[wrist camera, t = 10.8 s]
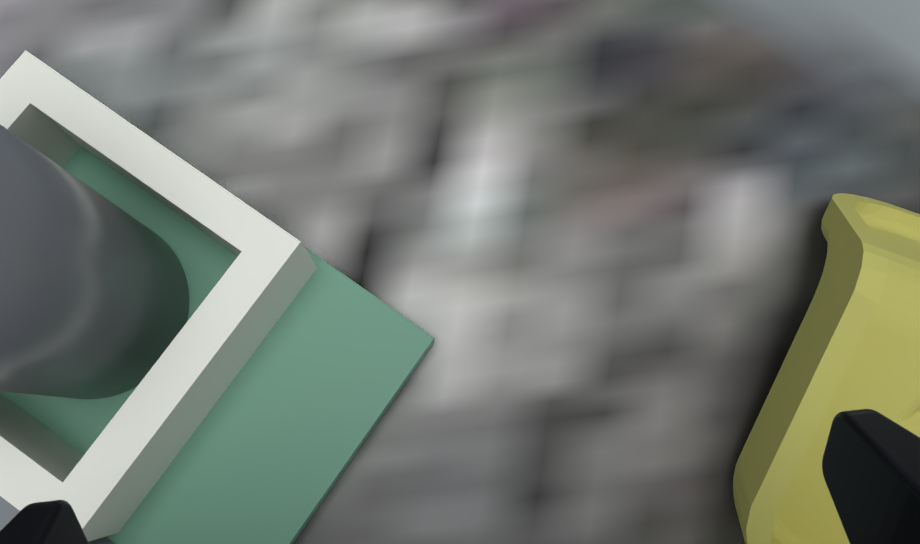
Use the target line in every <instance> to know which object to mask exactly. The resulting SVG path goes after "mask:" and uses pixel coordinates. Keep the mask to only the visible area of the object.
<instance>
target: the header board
mask: <svg viewBox="0 0 920 544" xmlns="http://www.w3.org/2000/svg"><path fill="white" fill-rule="evenodd" d="M0 124H1V125H2V126H3V127H5V128H6V129H8V130H9V131H11V132H12V133H13V134H15V135H16V136H18V137H19V138H21V139H22V140H23V141H25V142H26V143H28V144H29V145H31V146H32V147H33V148H35V149H36V150H38V151H39V152H41V153H42V154H43V155H45V156H46V157H48V158H49V159H51V160H52V161H53V162H55V163H56V164H58V165H59V166H61V167H62V168H63V169H65V170H66V171H68V172H69V173H71V174H72V175H73V176H75V177H76V178H78V179H79V180H81V181H82V182H83V183H85V184H86V185H88V186H89V187H91V188H92V189H93V190H95V191H96V192H98V193H99V194H101V195H102V196H103V197H105V198H106V199H108V200H109V201H111V202H112V203H113V204H115V205H116V206H118V207H119V208H121V209H122V210H123V211H125V212H126V213H128V214H129V215H131V216H132V217H133V218H135V219H136V220H138V221H139V222H141V223H142V224H143V225H145V226H146V227H148V228H149V229H151V230H152V231H153V232H155V233H156V234H157V235H159V236H160V237H161V238H162V239H163V240H164V241H165V242H166V243H167V244H168V245H169V246H170V247H171V249H172V250H173V251H174V253H175V254H176V256H177V258H178V259H179V261H180V263H181V265H182V268H183V270H184V273H185V276H186V280H187V284H188V291H189V311H188V317H187V322H186V324H185V325H184V327H183V328H182V329H181V331H180V332H179V333H178V334H177V336H176V337H175V338H174V340H173V341H172V342H171V343H170V345H169V346H168V347H167V349H166V350H165V351H164V352H163V354H162V355H161V356H160V358H159V359H158V360H157V362H156V363H155V364H154V365H153V367H152V368H151V369H150V371H149V372H148V373H147V374H146V376H145V377H144V378H143V380H142V381H141V382H140V383H139V385H138V386H137V387H135V388H133V389H131V390H128V391H126V392H124V393H122V394H118V395H115V396H111V397H107V398H101V399H75V398H65V397H55V396H45V395H35V394H25V393H15V392H5V391H0V530H1V529H2V528H3V527H4V526H5V525H6V524H7V523H8V522H9V521H10V520H11V519H12V518H13V517H14V516H15V515H17V514H18V513H19V512H20V511H21V510H22V509H23V508H24V507H26V506H27V505H29V504H32V503H37V502H45V501H54V500H65V501H67V502H68V503H69V504H70V505H71V507H72V508H73V510H74V512H75V515H76V517H77V519H78V521H79V523H80V525H81V527H82V530H83V532H84V534H85V536H86V538H87V540H88V543H89V544H293V543H294V542H295V540H296V539H297V537H298V536H299V534H300V533H301V532H302V530H303V529H304V527H305V526H306V525H307V523H308V522H309V520H310V519H311V517H312V516H313V515H314V513H315V512H316V510H317V509H318V507H319V506H320V505H321V503H322V502H323V500H324V499H325V497H326V496H327V495H328V493H329V492H330V490H331V489H332V488H333V486H334V485H335V483H336V482H337V480H338V479H339V478H340V476H341V475H342V473H343V472H344V470H345V469H346V468H347V466H348V465H349V463H350V462H351V460H352V459H353V458H354V456H355V455H356V453H357V452H358V451H359V449H360V448H361V446H362V445H363V443H364V442H365V441H366V439H367V438H368V436H369V435H370V433H371V432H372V431H373V429H374V428H375V426H376V425H377V423H378V422H379V421H380V419H381V418H382V416H383V415H384V414H385V412H386V411H387V409H388V408H389V406H390V405H391V404H392V402H393V401H394V399H395V398H396V396H397V395H398V394H399V392H400V391H401V389H402V388H403V386H404V385H405V384H406V382H407V381H408V379H409V378H410V377H411V375H412V374H413V372H414V371H415V369H416V368H417V367H418V365H419V364H420V362H421V361H422V359H423V358H424V357H425V355H426V354H427V352H428V351H429V349H430V348H431V347H432V345H433V344H434V337H433V336H431V335H430V334H429V333H427V332H426V331H424V330H423V329H421V328H420V327H418V326H417V325H416V324H414V323H413V322H411V321H410V320H408V319H407V318H406V317H404V316H403V315H401V314H400V313H398V312H397V311H395V310H394V309H393V308H391V307H390V306H388V305H387V304H385V303H384V302H383V301H381V300H380V299H378V298H377V297H375V296H374V295H372V294H371V293H370V292H368V291H367V290H365V289H364V288H362V287H361V286H360V285H358V284H357V283H355V282H354V281H352V280H351V279H349V278H348V277H347V276H345V275H344V274H342V273H341V272H339V271H338V270H337V269H335V268H334V267H332V266H331V265H329V264H328V263H326V262H325V261H324V260H322V259H321V258H319V257H318V256H316V255H315V254H314V253H312V252H311V251H309V250H308V249H306V248H305V247H304V246H303V244H302V243H301V241H299V240H298V239H296V238H295V237H293V236H292V235H290V234H289V233H288V232H286V231H285V230H283V229H282V228H280V227H279V226H278V225H276V224H275V223H273V222H272V221H270V220H269V219H267V218H266V217H265V216H263V215H262V214H260V213H259V212H257V211H256V210H255V209H253V208H252V207H250V206H249V205H247V204H246V203H244V202H243V201H242V200H240V199H239V198H237V197H236V196H234V195H233V194H232V193H230V192H229V191H227V190H226V189H224V188H223V187H221V186H220V185H219V184H217V183H216V182H214V181H213V180H211V179H210V178H208V177H207V176H206V175H204V174H203V173H201V172H200V171H198V170H197V169H196V168H194V167H193V166H191V165H190V164H188V163H187V162H185V161H184V160H183V159H181V158H180V157H178V156H177V155H175V154H174V153H173V152H171V151H170V150H168V149H167V148H165V147H164V146H162V145H161V144H160V143H158V142H157V141H155V140H154V139H152V138H151V137H150V136H148V135H147V134H145V133H144V132H142V131H141V130H139V129H138V128H137V127H135V126H134V125H132V124H131V123H129V122H128V121H127V120H125V119H124V118H122V117H121V116H119V115H118V114H116V113H115V112H114V111H112V110H111V109H109V108H108V107H106V106H105V105H104V104H102V103H101V102H99V101H98V100H96V99H95V98H93V97H92V96H91V95H89V94H88V93H86V92H85V91H83V90H82V89H80V88H79V87H78V86H76V85H75V84H73V83H72V82H70V81H69V80H68V79H66V78H65V77H63V76H62V75H60V74H59V73H57V72H56V71H55V70H53V69H52V68H50V67H49V66H47V65H46V64H45V63H43V62H42V61H40V60H39V59H37V58H36V57H34V56H33V55H32V54H30V53H29V52H27V51H26V50H25V52H24V53H23V54H22V55H21V56H20V57H19V58H18V60H17V61H16V62H15V63H14V64H13V65H12V66H11V67H10V69H9V70H8V71H7V72H6V73H5V74H4V75H3V76H2V78H1V79H0Z"/></svg>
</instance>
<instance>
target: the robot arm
mask: <svg viewBox="0 0 920 544" xmlns="http://www.w3.org/2000/svg"><path fill="white" fill-rule="evenodd" d="M822 471H823V476H824V479H825V482H826V485H827V487H828V490H829V492H830V495H831V497H832V500H833V502H834V505H835V507H836V510H837V512H838V515H839V518H840V520H841V523H842V525H843V528H844V530H845V533H846V535H847V538H848V540H849V543H850V544H920V437H918V436H917V435H915V434H914V433H912V432H910V431H909V430H907V429H905V428H904V427H902V426H900V425H899V424H897V423H896V422H894V421H892V420H891V419H889V418H887V417H886V416H884V415H882V414H881V413H879V412H877V411H875V410H872V409H860V410H851V411H842V412H839V413H838V414H837V415H836V416H835V417H834V419H833V421H832V425H831V428H830V432H829V436H828V440H827V443H826V447H825V451H824V454H823V459H822ZM0 544H89V543H88V540H87V538H86V536H85V534H84V532H83V530H82V527H81V525H80V523H79V521H78V519H77V517H76V515H75V512H74V510H73V508H72V507H71V505H70V504H69V503H68V502H67V501H65V500H54V501H45V502H37V503H32V504H29V505H27V506H26V507H24V508H23V509H22V510H21V511H20V512H19V513H18V514H17V515H15V516H14V517H13V518H12V519H11V520H10V521H9V522H8V523H7V524H6V525H5V526H4V527H3V528H2V529H1V530H0Z"/></svg>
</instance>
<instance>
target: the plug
mask: <svg viewBox="0 0 920 544" xmlns="http://www.w3.org/2000/svg"><path fill="white" fill-rule="evenodd" d="M188 311H189V291H188V284H187V280H186V276H185V273H184V270H183V268H182V265H181V263H180V261H179V259H178V258H177V256H176V254H175V253H174V251H173V250H172V249H171V247H170V246H169V245H168V244H167V243H166V242H165V241H164V240H163V239H162V238H161V237H160V236H159V235H157V234H156V233H155V232H153V231H152V230H151V229H149V228H148V227H146V226H145V225H143V224H142V223H141V222H139V221H138V220H136V219H135V218H133V217H132V216H131V215H129V214H128V213H126V212H125V211H123V210H122V209H121V208H119V207H118V206H116V205H115V204H113V203H112V202H111V201H109V200H108V199H106V198H105V197H103V196H102V195H101V194H99V193H98V192H96V191H95V190H93V189H92V188H91V187H89V186H88V185H86V184H85V183H83V182H82V181H81V180H79V179H78V178H76V177H75V176H73V175H72V174H71V173H69V172H68V171H66V170H65V169H63V168H62V167H61V166H59V165H58V164H56V163H55V162H53V161H52V160H51V159H49V158H48V157H46V156H45V155H43V154H42V153H41V152H39V151H38V150H36V149H35V148H33V147H32V146H31V145H29V144H28V143H26V142H25V141H23V140H22V139H21V138H19V137H18V136H16V135H15V134H13V133H12V132H11V131H9V130H8V129H6V128H5V127H3V126H2V125H1V124H0V391H5V392H15V393H25V394H35V395H45V396H55V397H65V398H75V399H101V398H107V397H111V396H115V395H118V394H122V393H124V392H126V391H128V390H131V389H133V388H135V387H137V386H138V385H139V383H140V382H141V381H142V380H143V378H144V377H145V376H146V374H147V373H148V372H149V371H150V369H151V368H152V367H153V365H154V364H155V363H156V362H157V360H158V359H159V358H160V356H161V355H162V354H163V352H164V351H165V350H166V349H167V347H168V346H169V345H170V343H171V342H172V341H173V340H174V338H175V337H176V336H177V334H178V333H179V332H180V331H181V329H182V328H183V327H184V325H185V324H186V322H187V317H188Z"/></svg>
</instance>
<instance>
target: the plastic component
mask: <svg viewBox="0 0 920 544" xmlns="http://www.w3.org/2000/svg"><path fill="white" fill-rule="evenodd" d="M821 230H822V232H823V235H824V237H825V239H826V241H827V243H828V248H827V257H826V261H825V265H824V270H823V273H822V276H821V279H820V282H819V285H818V287H817V290H816V292H815V295H814V297H813V299H812V302H811V304H810V306H809V308H808V310H807V312H806V315H805V317H804V319H803V321H802V323H801V325H800V327H799V330H798V332H797V334H796V336H795V338H794V340H793V342H792V345H791V347H790V349H789V351H788V353H787V355H786V357H785V360H784V362H783V364H782V366H781V368H780V370H779V372H778V375H777V377H776V379H775V381H774V383H773V385H772V387H771V390H770V392H769V394H768V396H767V398H766V400H765V402H764V405H763V407H762V409H761V411H760V413H759V415H758V417H757V420H756V422H755V424H754V426H753V428H752V430H751V432H750V435H749V437H748V439H747V441H746V443H745V445H744V447H743V450H742V452H741V454H740V456H739V458H738V461H737V464H736V466H735V472H734V477H733V495H734V502H735V507H736V511H737V514H738V518H739V522H740V526H741V529H742V533H743V537H744V540H745V544H850V543H849V540H848V538H847V535H846V533H845V530H844V528H843V525H842V523H841V520H840V518H839V515H838V512H837V510H836V507H835V505H834V502H833V500H832V497H831V495H830V492H829V490H828V487H827V485H826V482H825V479H824V476H823V471H822V459H823V454H824V451H825V447H826V443H827V440H828V436H829V432H830V428H831V425H832V421H833V419H834V417H835V416H836V415H837V414H838V413H839V412H842V411H851V410H860V409H872V410H875V411H877V412H879V413H881V414H882V415H884V416H886V417H887V418H889V419H891V420H892V421H894V422H896V423H897V424H899V425H900V426H902V427H904V428H905V429H907V430H909V431H910V432H912V433H914V434H915V435H917V436H918V437H920V214H917V213H914V212H912V211H909V210H906V209H903V208H900V207H897V206H894V205H892V204H889V203H885V202H882V201H878V200H875V199H871V198H867V197H863V196H858V195H853V194H844V193H839V194H834V195H833V197H832V199H831V201H830V203H829V205H828V207H827V209H826V211H825V213H824V216H823V218H822V224H821Z"/></svg>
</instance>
